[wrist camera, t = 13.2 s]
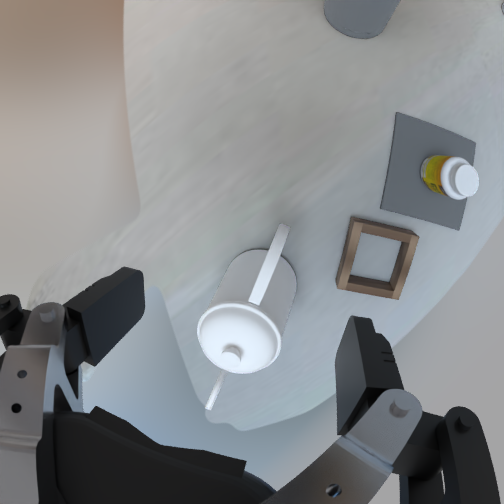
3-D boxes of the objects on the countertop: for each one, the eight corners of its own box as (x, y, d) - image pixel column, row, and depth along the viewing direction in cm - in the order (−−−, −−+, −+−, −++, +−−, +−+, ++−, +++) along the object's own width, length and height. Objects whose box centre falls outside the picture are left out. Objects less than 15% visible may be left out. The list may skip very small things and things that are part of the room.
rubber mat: (395, 112, 31) (397, 112, 30) (473, 142, 29) (475, 142, 28) (380, 208, 36) (381, 208, 35) (457, 229, 34) (459, 230, 33)
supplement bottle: (414, 182, 33) (444, 192, 24) (425, 149, 31) (457, 149, 22) (442, 197, 33) (476, 210, 24) (453, 164, 31) (488, 169, 22)
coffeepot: (208, 328, 48) (163, 404, 31) (254, 194, 39) (209, 228, 22) (264, 351, 48) (241, 436, 30) (326, 223, 38) (339, 280, 21)
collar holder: (351, 216, 37) (354, 221, 34) (412, 231, 36) (419, 236, 33) (335, 279, 41) (337, 288, 38) (393, 290, 39) (398, 299, 36)
